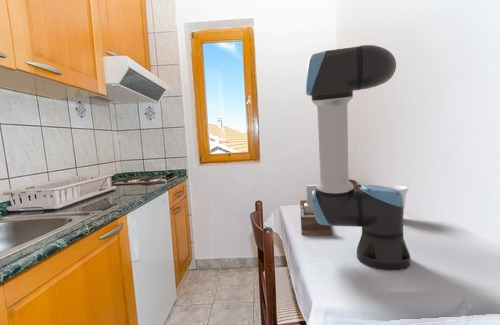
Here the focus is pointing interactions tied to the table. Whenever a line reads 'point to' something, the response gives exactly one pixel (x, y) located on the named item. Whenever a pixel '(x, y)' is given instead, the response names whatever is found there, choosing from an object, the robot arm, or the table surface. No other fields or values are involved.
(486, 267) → the table surface
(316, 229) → the track
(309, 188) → the block
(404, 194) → the cup
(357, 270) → the table surface
